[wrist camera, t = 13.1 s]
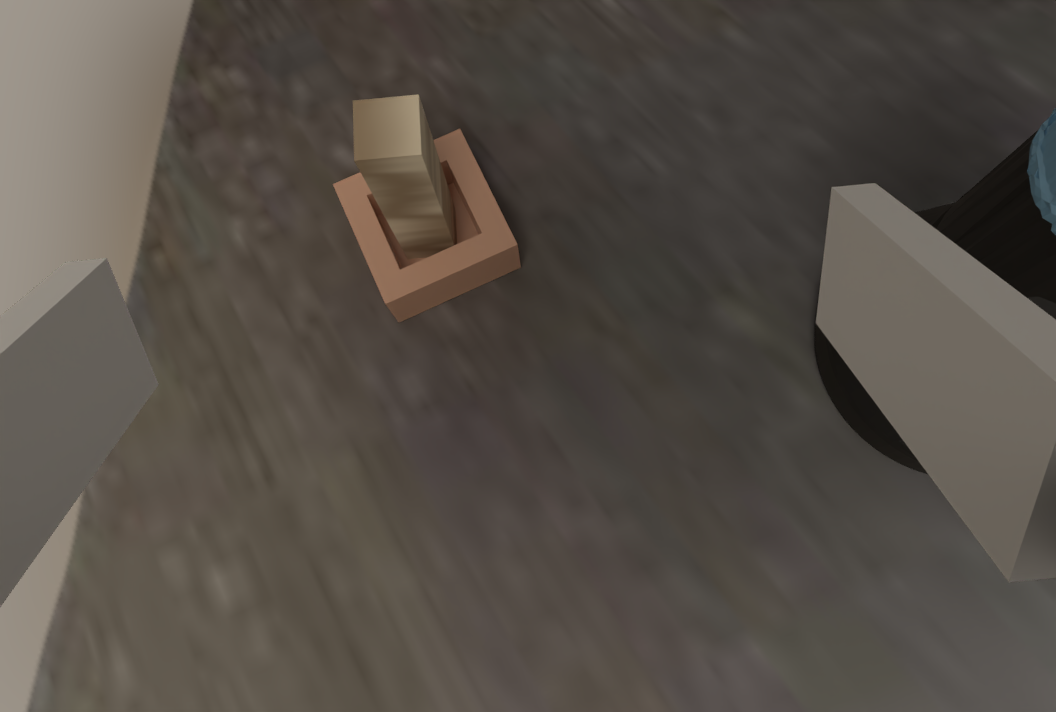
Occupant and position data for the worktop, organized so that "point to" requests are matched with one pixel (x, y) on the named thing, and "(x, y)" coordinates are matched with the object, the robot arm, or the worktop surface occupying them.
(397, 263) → the orange-brown square frame
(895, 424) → the robot arm
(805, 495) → the worktop surface
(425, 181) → the beige tall square post
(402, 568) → the worktop surface
